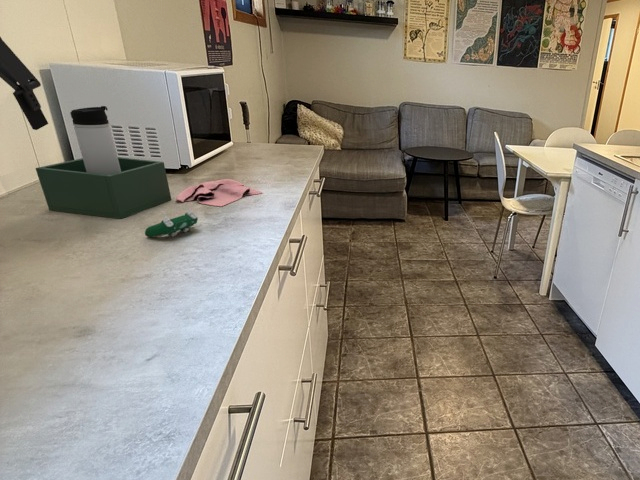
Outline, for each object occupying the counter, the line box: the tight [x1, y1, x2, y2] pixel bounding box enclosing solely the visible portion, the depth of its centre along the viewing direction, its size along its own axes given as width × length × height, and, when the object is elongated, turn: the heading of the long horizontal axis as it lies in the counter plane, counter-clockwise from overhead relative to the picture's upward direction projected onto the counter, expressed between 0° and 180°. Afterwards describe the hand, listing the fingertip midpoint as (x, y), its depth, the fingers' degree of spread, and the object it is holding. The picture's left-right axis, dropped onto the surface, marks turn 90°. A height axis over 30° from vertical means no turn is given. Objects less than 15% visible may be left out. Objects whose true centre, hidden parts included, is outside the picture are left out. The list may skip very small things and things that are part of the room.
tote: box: [35, 156, 172, 220], centre depth 106 cm, size 17×16×9 cm
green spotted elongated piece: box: [144, 209, 198, 238], centre depth 94 cm, size 9×4×6 cm
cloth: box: [175, 178, 264, 208], centre depth 120 cm, size 20×22×2 cm
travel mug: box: [70, 105, 121, 175], centre depth 103 cm, size 6×7×20 cm
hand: (7, 119), depth 86 cm, fingers open, 13 cm apart
